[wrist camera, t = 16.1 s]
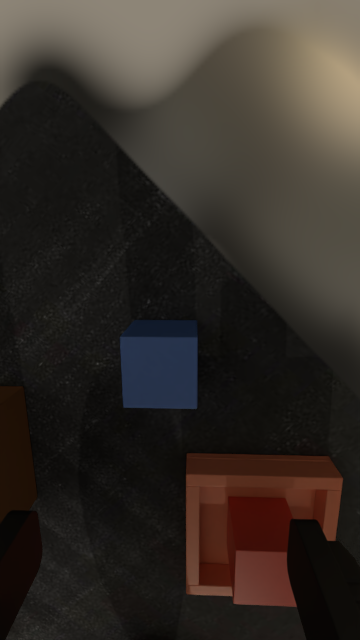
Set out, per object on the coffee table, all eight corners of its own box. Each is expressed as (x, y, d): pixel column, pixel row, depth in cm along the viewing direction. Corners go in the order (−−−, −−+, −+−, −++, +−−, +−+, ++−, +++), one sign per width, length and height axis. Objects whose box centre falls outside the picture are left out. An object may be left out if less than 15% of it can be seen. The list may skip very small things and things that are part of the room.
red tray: (186, 452, 24) (185, 474, 22) (328, 455, 24) (343, 478, 21) (186, 564, 26) (186, 594, 24) (315, 569, 26) (328, 600, 24)
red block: (228, 496, 24) (235, 550, 20) (285, 497, 24) (306, 552, 19) (226, 542, 25) (233, 604, 21) (281, 544, 25) (300, 607, 20)
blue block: (134, 319, 22) (119, 336, 18) (196, 320, 22) (197, 337, 17) (136, 378, 23) (122, 408, 18) (196, 378, 23) (197, 409, 18)
